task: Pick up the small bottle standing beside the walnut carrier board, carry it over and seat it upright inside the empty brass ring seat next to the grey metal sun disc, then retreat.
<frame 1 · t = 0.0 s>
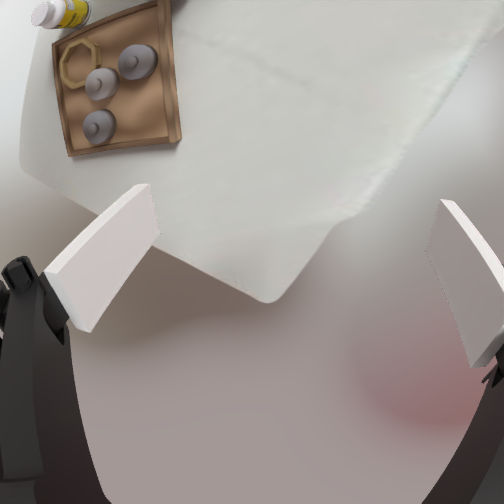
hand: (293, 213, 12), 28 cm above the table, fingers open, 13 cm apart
carrier: (112, 81, 34), on the table
supplement bottle: (81, 14, 27), on the table
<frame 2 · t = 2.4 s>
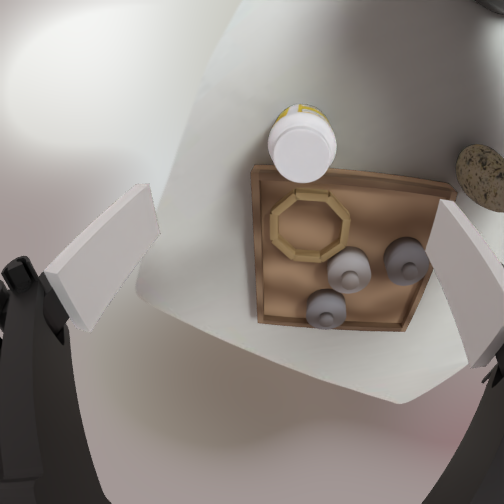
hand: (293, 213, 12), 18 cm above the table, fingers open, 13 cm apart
carrier: (346, 256, 34), on the table
decorative egg: (466, 161, 24), on the table
supplement bottle: (303, 128, 26), on the table
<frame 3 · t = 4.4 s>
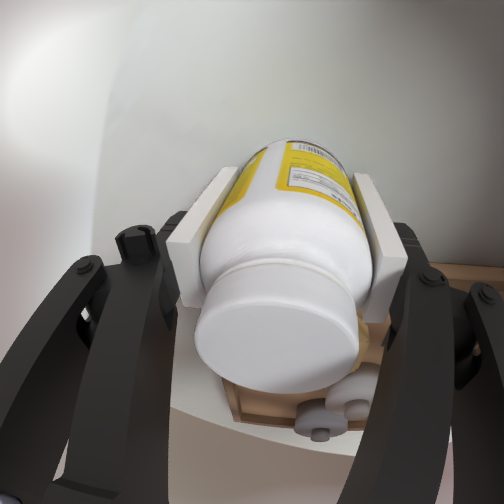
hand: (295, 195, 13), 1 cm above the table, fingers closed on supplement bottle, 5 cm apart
carrier: (355, 363, 22), on the table
supplement bottle: (296, 186, 14), on the table, touching gripper
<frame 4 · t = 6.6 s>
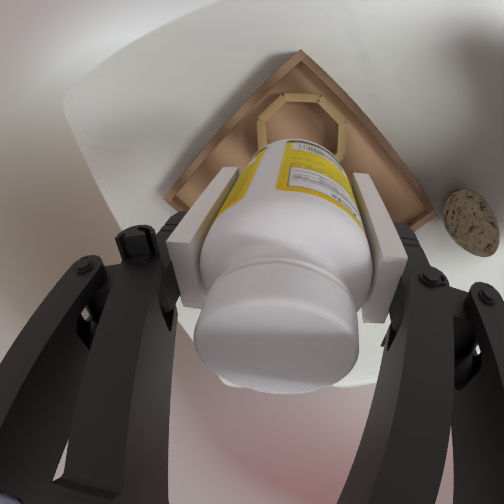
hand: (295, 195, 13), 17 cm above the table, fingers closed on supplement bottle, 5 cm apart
carrier: (301, 192, 31), on the table
decorative egg: (454, 201, 27), on the table
supplement bottle: (296, 186, 14), point 16 cm above the table, touching gripper
when the fingers open (3 cm above the table, at t = 8.8 s): supplement bottle stays where it is, resting on carrier.
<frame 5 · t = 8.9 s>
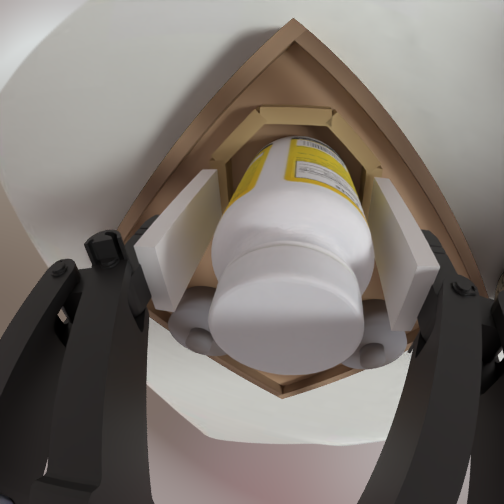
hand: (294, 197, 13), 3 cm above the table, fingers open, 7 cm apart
carrier: (293, 269, 20), on the table
supplement bottle: (299, 182, 15), point 1 cm above the table, touching carrier
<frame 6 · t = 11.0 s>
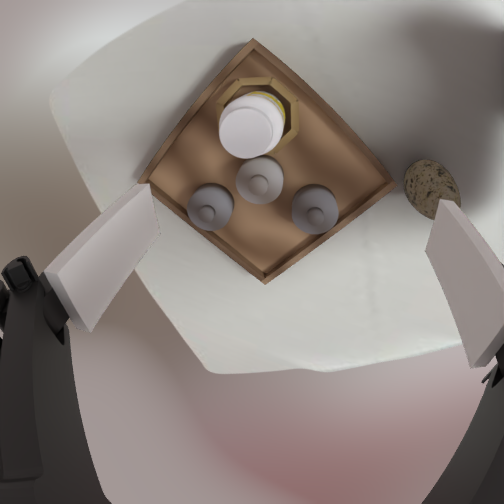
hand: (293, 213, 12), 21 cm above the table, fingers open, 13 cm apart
carrier: (263, 170, 33), on the table
decorative egg: (417, 174, 30), on the table
supplement bottle: (260, 114, 28), point 1 cm above the table, touching carrier
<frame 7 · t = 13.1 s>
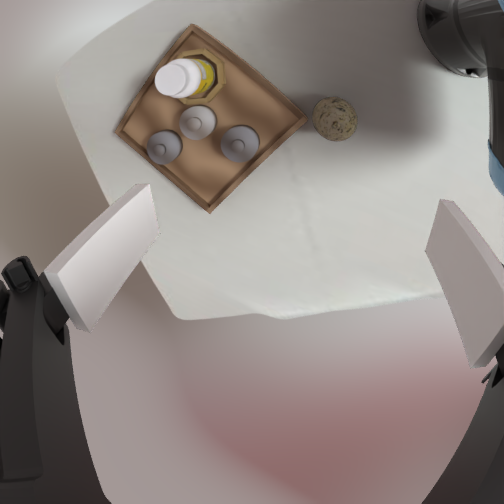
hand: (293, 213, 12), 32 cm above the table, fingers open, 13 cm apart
carrier: (204, 118, 40), on the table
decorative egg: (332, 114, 37), on the table
supplement bottle: (198, 76, 35), point 1 cm above the table, touching carrier
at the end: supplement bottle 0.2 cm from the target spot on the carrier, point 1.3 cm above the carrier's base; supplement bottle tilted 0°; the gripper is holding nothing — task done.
